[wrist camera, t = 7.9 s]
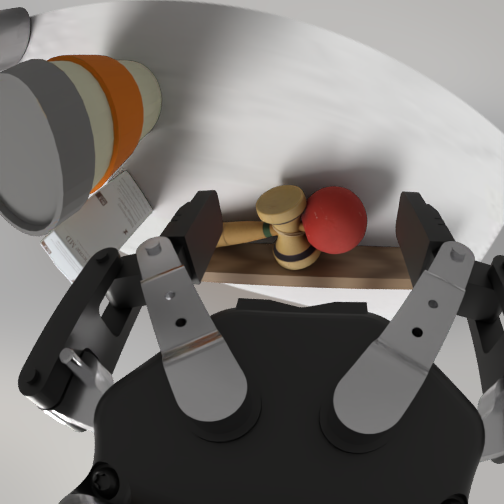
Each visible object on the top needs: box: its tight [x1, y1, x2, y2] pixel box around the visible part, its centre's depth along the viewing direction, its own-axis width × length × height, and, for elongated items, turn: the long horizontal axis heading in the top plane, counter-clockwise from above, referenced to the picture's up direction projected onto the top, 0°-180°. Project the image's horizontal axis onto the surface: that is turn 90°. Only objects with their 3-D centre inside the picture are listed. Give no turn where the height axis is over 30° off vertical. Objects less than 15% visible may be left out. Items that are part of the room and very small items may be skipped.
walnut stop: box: [201, 243, 413, 289], centre depth 29 cm, size 24×1×5 cm, turn 97°
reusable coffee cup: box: [0, 55, 162, 236], centre depth 18 cm, size 12×12×15 cm
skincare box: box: [40, 171, 153, 284], centre depth 27 cm, size 6×4×12 cm
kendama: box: [216, 185, 367, 270], centre depth 28 cm, size 8×6×18 cm
